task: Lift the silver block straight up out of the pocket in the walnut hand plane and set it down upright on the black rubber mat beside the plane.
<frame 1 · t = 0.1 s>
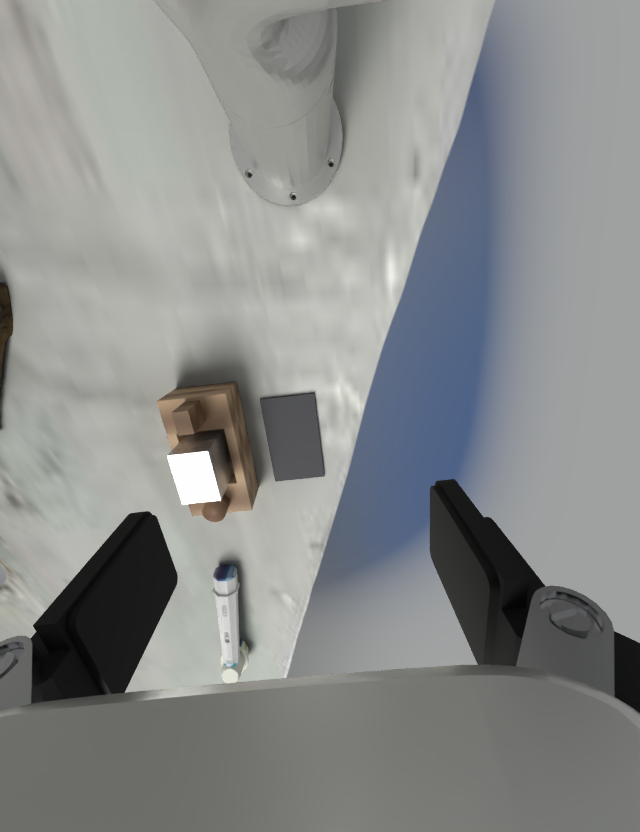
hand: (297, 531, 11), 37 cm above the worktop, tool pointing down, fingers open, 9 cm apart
silver block: (214, 449, 47), point 3 cm above the worktop, touching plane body
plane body: (219, 440, 50), on the worktop
rubber mat: (293, 438, 50), on the worktop
electric toothbrush: (233, 611, 64), on the worktop
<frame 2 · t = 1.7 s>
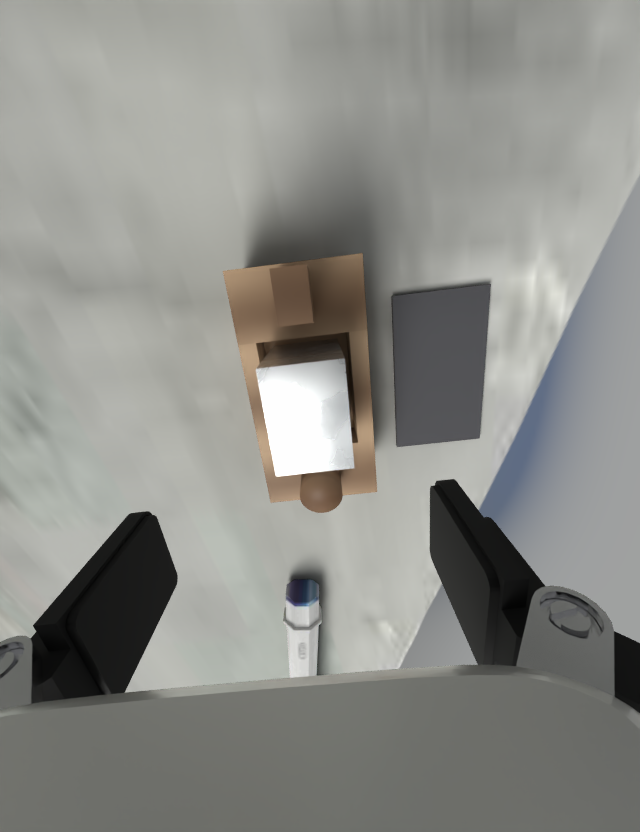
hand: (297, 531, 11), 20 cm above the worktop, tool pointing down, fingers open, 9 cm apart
silver block: (310, 384, 26), point 3 cm above the worktop, touching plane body
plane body: (311, 375, 29), on the worktop
rubber mat: (438, 372, 29), on the worktop
electric toothbrush: (304, 644, 43), on the worktop
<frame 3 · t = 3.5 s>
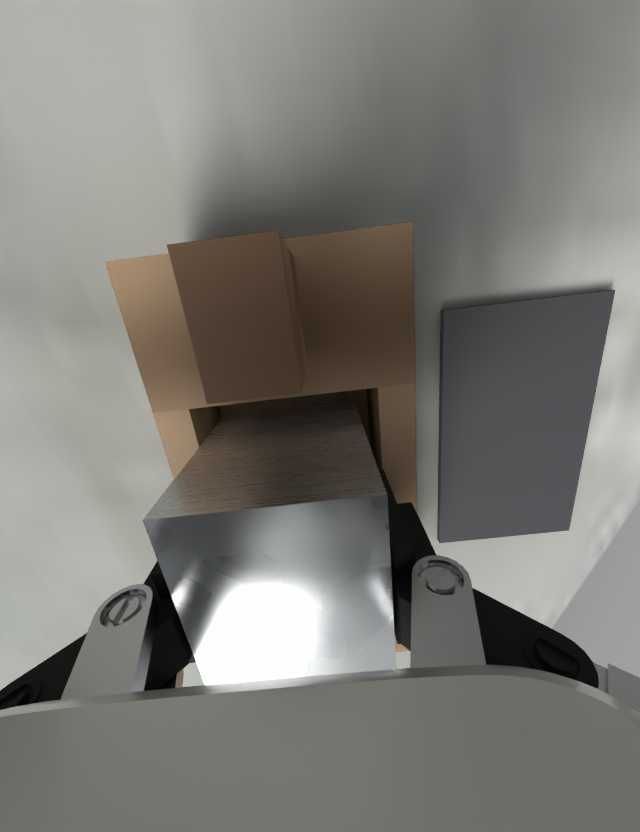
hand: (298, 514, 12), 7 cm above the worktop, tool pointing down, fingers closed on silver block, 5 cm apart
silver block: (302, 464, 15), point 3 cm above the worktop, touching gripper, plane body
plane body: (304, 438, 18), on the worktop
rubber mat: (510, 432, 18), on the worktop
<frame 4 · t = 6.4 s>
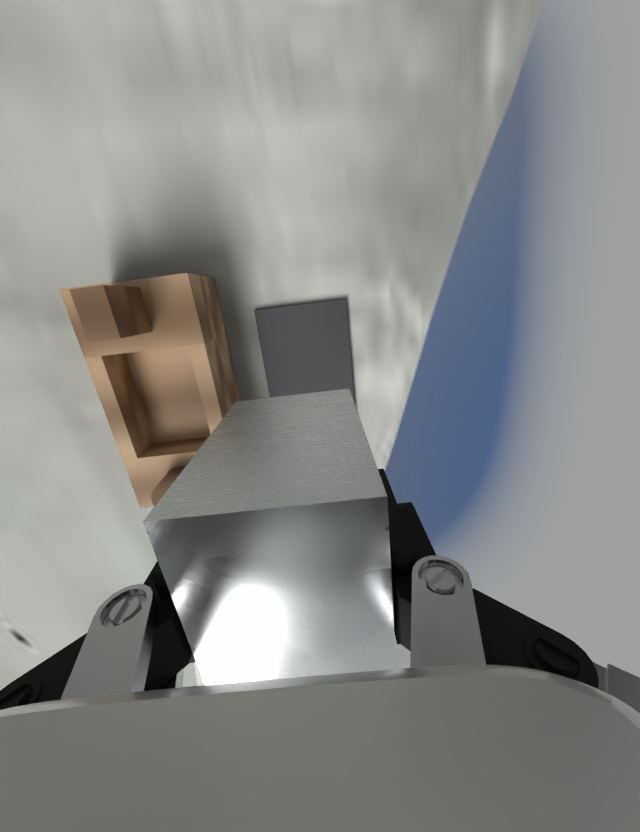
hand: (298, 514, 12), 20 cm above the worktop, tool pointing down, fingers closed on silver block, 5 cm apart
silver block: (302, 465, 15), point 16 cm above the worktop, touching gripper
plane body: (189, 385, 31), on the worktop
rubber mat: (310, 381, 31), on the worktop
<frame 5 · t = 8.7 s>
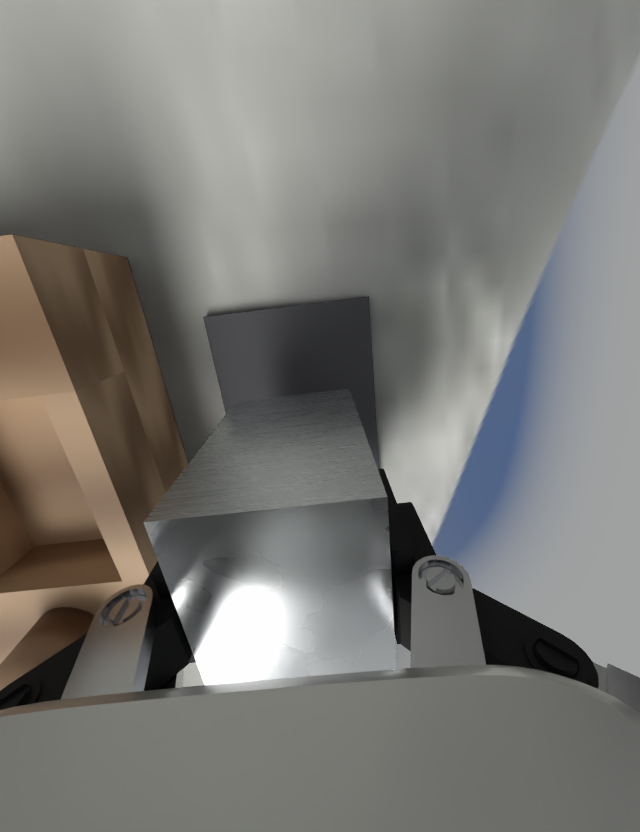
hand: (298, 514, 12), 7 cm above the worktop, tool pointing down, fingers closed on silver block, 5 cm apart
silver block: (302, 465, 15), point 3 cm above the worktop, touching gripper
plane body: (101, 442, 18), on the worktop
rubber mat: (304, 436, 18), on the worktop
when the fingers open (6 cm above the worktop, at t = 9.4 s): silver block drops 2 cm, resting on rubber mat.
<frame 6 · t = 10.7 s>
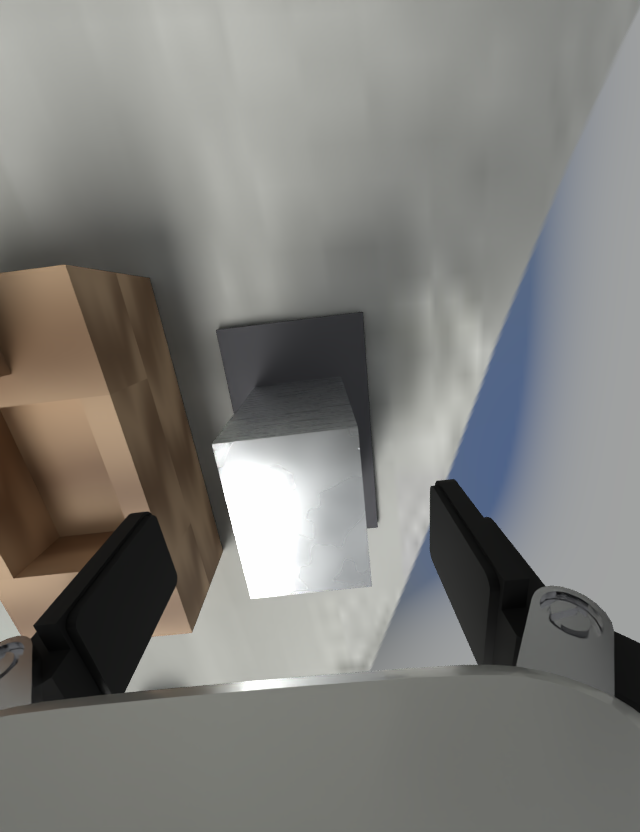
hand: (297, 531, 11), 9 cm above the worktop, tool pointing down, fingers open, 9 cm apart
silver block: (305, 437, 20), resting on rubber mat
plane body: (120, 442, 20), on the worktop
rubber mat: (306, 437, 20), on the worktop
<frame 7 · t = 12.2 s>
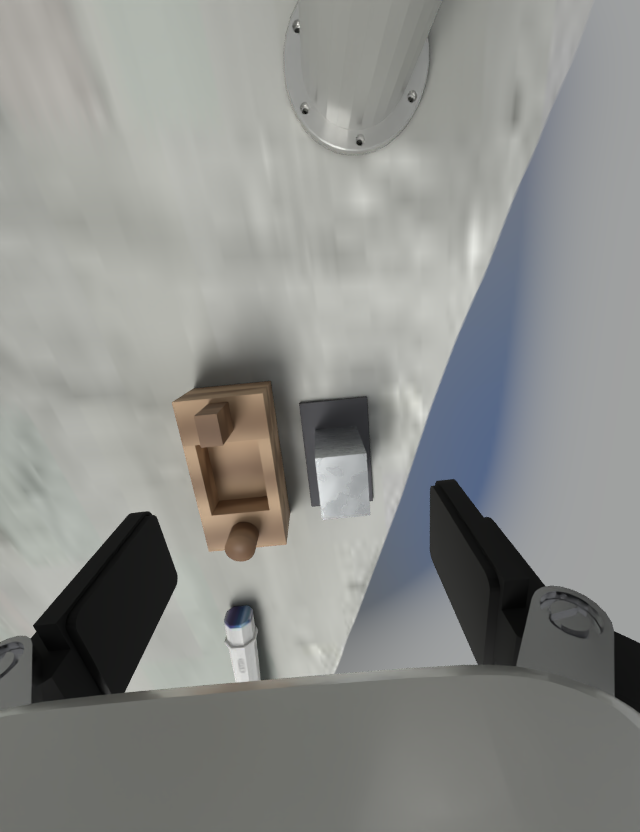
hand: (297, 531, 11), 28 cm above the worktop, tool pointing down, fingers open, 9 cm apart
silver block: (337, 454, 40), resting on rubber mat
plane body: (245, 455, 40), on the worktop
rubber mat: (337, 453, 40), on the worktop
electric toothbrush: (253, 662, 52), on the worktop
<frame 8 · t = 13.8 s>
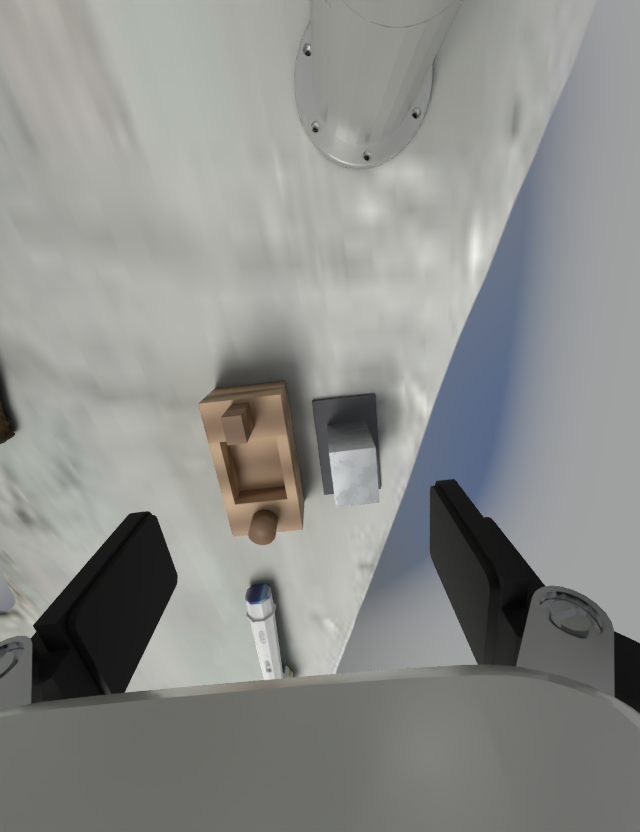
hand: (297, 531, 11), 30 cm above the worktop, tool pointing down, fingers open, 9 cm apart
silver block: (348, 446, 43), resting on rubber mat
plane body: (262, 448, 43), on the worktop
rubber mat: (347, 446, 43), on the worktop
electric toothbrush: (272, 634, 57), on the worktop
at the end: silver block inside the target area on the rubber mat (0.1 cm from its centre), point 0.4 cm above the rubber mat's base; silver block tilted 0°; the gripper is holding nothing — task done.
